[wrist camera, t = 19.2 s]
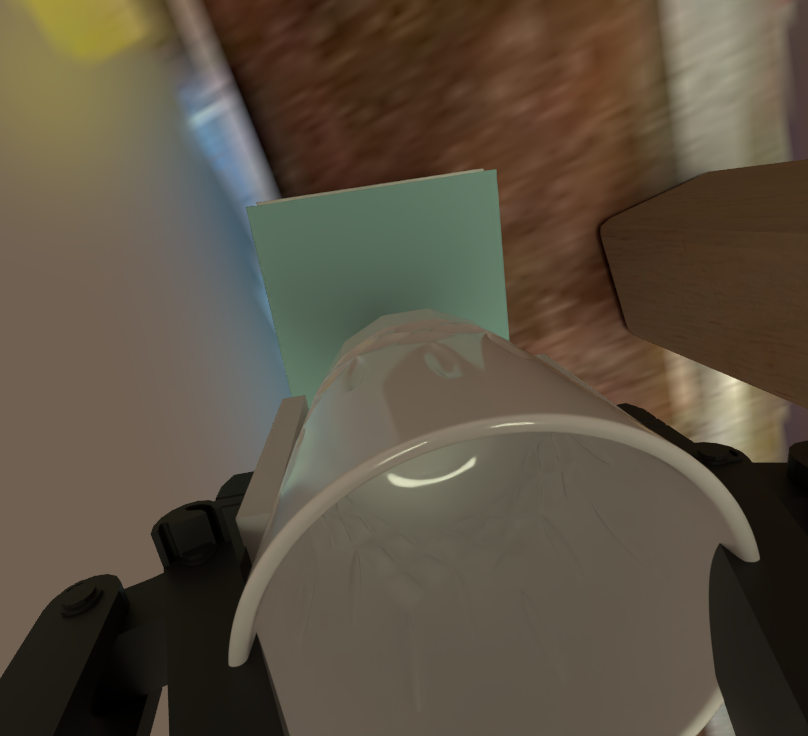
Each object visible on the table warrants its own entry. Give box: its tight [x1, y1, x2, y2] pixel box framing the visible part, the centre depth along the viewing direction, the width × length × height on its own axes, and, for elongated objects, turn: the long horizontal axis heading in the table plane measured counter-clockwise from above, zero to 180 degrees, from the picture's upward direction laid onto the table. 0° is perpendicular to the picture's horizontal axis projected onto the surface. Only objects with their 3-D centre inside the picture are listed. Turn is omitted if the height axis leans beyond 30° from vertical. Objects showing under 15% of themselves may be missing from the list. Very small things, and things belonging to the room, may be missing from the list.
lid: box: [246, 169, 509, 409], centre depth 27 cm, size 15×13×2 cm
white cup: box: [228, 308, 760, 736], centre depth 12 cm, size 8×8×10 cm
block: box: [600, 159, 808, 409], centre depth 28 cm, size 10×10×20 cm
